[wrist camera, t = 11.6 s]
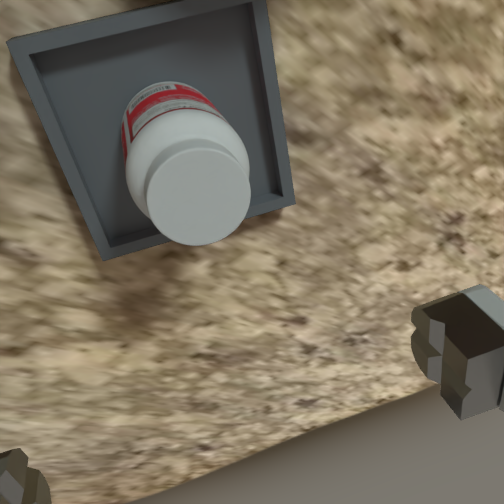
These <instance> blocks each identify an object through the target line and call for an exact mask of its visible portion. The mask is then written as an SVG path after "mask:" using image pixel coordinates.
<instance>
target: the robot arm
mask: <svg viewBox="0 0 504 504" xmlns="http://www.w3.org/2000/svg"><path fill="white" fill-rule="evenodd" d="M411 322H412V323H413V324H414V326H415V327H416V330H415V331H414V333H413V334H412V336H411V349H412V352H413V355H414V358H415V361H416V362H417V364H418V366H419V368H420V369H421V371H422V372H423V373H424V375H425V376H426V377H427V378H428V379H430V380H432V381H435V382H437V383H439V384H440V395H441V396H442V397H443V399H444V400H445V401H446V403H447V404H448V405H449V406H450V408H451V409H452V410H453V411H454V413H455V414H456V415H457V417H458V418H459V419H460V420H463V419H466V418H469V417H471V416H474V415H477V414H480V413H483V412H485V411H488V410H491V409H494V408H497V407H499V409H500V410H502V411H504V301H503V300H502V299H501V298H499V297H498V296H497V295H496V294H495V293H493V292H492V291H491V290H490V289H489V288H487V287H486V286H484V285H481V284H479V285H476V286H473V287H470V288H467V289H465V290H462V291H459V292H457V293H453V294H450V295H447V296H444V297H442V298H439V299H436V300H433V301H431V302H428V303H425V304H422V305H420V306H417V307H414V309H413V311H412V313H411ZM27 465H28V456H27V455H26V454H25V453H24V452H23V451H22V450H21V449H20V448H17V449H12V450H9V451H6V452H3V453H0V504H52V502H51V495H50V488H49V486H48V483H47V481H46V479H45V477H44V476H43V474H42V473H41V472H40V471H39V470H37V469H33V468H29V467H27Z"/></svg>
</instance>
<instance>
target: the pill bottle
mask: <svg viewBox="0 0 504 504" xmlns="http://www.w3.org/2000/svg"><path fill="white" fill-rule="evenodd" d="M121 139H122V147H123V156H124V165H125V175H126V182H127V185H128V189H129V192H130V194H131V197H132V198H133V200H134V202H135V204H136V205H137V206H138V208H139V209H140V210H141V211H142V212H143V213H144V214H145V215H146V216H147V217H148V218H150V219H151V220H152V222H153V224H154V225H155V226H156V228H157V229H158V230H159V231H160V232H161V233H162V234H163V235H165V236H166V237H168V238H169V239H171V240H173V241H175V242H177V243H181V244H184V245H191V246H200V245H207V244H211V243H214V242H217V241H219V240H221V239H223V238H225V237H227V236H228V235H229V234H231V233H232V232H233V231H234V230H235V229H236V228H237V227H238V226H239V225H240V224H241V222H242V221H243V219H244V217H245V216H246V213H247V211H248V208H249V204H250V199H251V189H250V183H249V171H250V167H249V159H248V155H247V151H246V149H245V146H244V144H243V142H242V140H241V138H240V137H239V136H238V134H237V133H236V131H235V130H234V129H233V128H232V126H231V125H230V124H229V123H228V122H227V120H226V119H225V118H224V117H223V116H222V115H221V113H220V112H219V111H218V110H217V109H216V108H215V106H214V105H213V104H212V103H211V102H210V101H209V100H208V99H207V98H206V97H205V96H204V95H203V94H202V93H201V92H199V91H198V90H197V89H195V88H193V87H191V86H189V85H187V84H184V83H180V82H172V81H169V82H159V83H155V84H152V85H150V86H148V87H146V88H144V89H143V90H141V91H140V92H139V93H137V94H136V95H135V96H134V97H133V99H132V100H131V101H130V102H129V104H128V106H127V108H126V110H125V112H124V115H123V118H122V124H121Z"/></svg>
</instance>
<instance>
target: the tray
mask: <svg viewBox="0 0 504 504" xmlns="http://www.w3.org/2000/svg"><path fill="white" fill-rule="evenodd" d="M6 44H7V46H8V48H9V50H10V53H11V55H12V57H13V59H14V62H15V64H16V66H17V68H18V71H19V73H20V75H21V77H22V80H23V82H24V84H25V87H26V89H27V91H28V93H29V96H30V98H31V100H32V102H33V105H34V107H35V109H36V111H37V114H38V116H39V118H40V120H41V123H42V125H43V127H44V129H45V132H46V134H47V136H48V138H49V141H50V143H51V145H52V147H53V150H54V152H55V154H56V156H57V159H58V161H59V163H60V165H61V168H62V170H63V172H64V174H65V177H66V179H67V181H68V184H69V186H70V188H71V190H72V193H73V195H74V197H75V199H76V202H77V204H78V206H79V208H80V211H81V213H82V215H83V217H84V220H85V222H86V224H87V226H88V229H89V231H90V233H91V235H92V238H93V240H94V242H95V244H96V247H97V249H98V251H99V253H100V256H101V258H102V260H103V261H106V260H109V259H112V258H116V257H119V256H122V255H126V254H129V253H132V252H136V251H139V250H142V249H146V248H149V247H153V246H156V245H159V244H163V243H166V242H169V241H173V240H171V239H169V238H168V237H166V236H165V235H163V234H162V233H161V232H160V231H159V230H158V229H157V228H156V226H155V225H154V224H153V222H152V220H151V219H150V218H148V217H147V216H146V215H145V214H144V213H143V212H142V211H141V210H140V209H139V208H138V206H137V205H136V204H135V202H134V200H133V198H132V197H131V194H130V192H129V189H128V185H127V182H126V175H125V165H124V156H123V147H122V139H121V124H122V118H123V115H124V112H125V110H126V108H127V106H128V104H129V102H130V101H131V100H132V99H133V97H134V96H135V95H136V94H137V93H139V92H140V91H141V90H143V89H144V88H146V87H148V86H150V85H152V84H155V83H159V82H169V81H172V82H180V83H184V84H187V85H189V86H191V87H193V88H195V89H197V90H198V91H199V92H201V93H202V94H203V95H204V96H205V97H206V98H207V99H208V100H209V101H210V102H211V103H212V104H213V105H214V106H215V108H216V109H217V110H218V111H219V112H220V113H221V115H222V116H223V117H224V118H225V119H226V120H227V122H228V123H229V124H230V125H231V126H232V128H233V129H234V130H235V131H236V133H237V134H238V136H239V137H240V138H241V140H242V142H243V144H244V146H245V149H246V151H247V155H248V159H249V167H250V171H249V183H250V189H251V199H250V204H249V208H248V211H247V213H246V216H245V217H244V219H247V218H250V217H253V216H257V215H260V214H263V213H267V212H270V211H273V210H277V209H280V208H284V207H287V206H290V205H294V204H296V203H295V196H294V189H293V183H292V176H291V169H290V162H289V155H288V148H287V141H286V135H285V128H284V121H283V114H282V107H281V100H280V93H279V87H278V80H277V73H276V66H275V59H274V52H273V45H272V39H271V32H270V25H269V18H268V11H267V4H266V0H174V1H169V2H165V3H161V4H156V5H152V6H148V7H143V8H139V9H135V10H130V11H126V12H122V13H117V14H113V15H109V16H104V17H100V18H96V19H91V20H87V21H83V22H78V23H74V24H70V25H66V26H61V27H57V28H53V29H48V30H44V31H40V32H35V33H31V34H27V35H22V36H18V37H14V38H11V39H9V40H8V41H6Z"/></svg>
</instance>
